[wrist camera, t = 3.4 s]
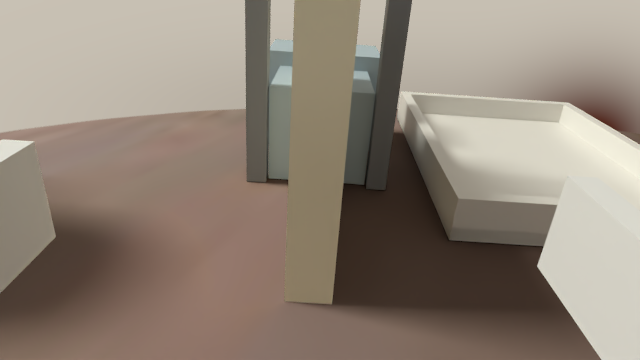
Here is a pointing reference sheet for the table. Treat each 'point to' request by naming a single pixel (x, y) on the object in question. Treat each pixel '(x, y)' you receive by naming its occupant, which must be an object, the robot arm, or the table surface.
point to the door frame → (366, 102)
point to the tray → (509, 161)
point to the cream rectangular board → (318, 143)
